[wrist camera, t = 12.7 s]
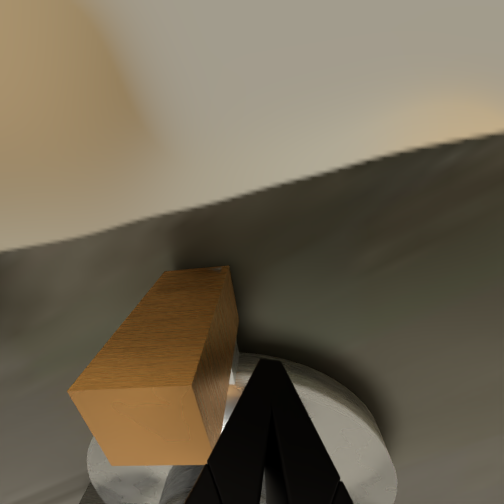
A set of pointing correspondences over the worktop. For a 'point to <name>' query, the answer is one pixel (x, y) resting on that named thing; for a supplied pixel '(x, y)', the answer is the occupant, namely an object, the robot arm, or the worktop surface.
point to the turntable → (202, 395)
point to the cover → (187, 484)
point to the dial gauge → (91, 496)
